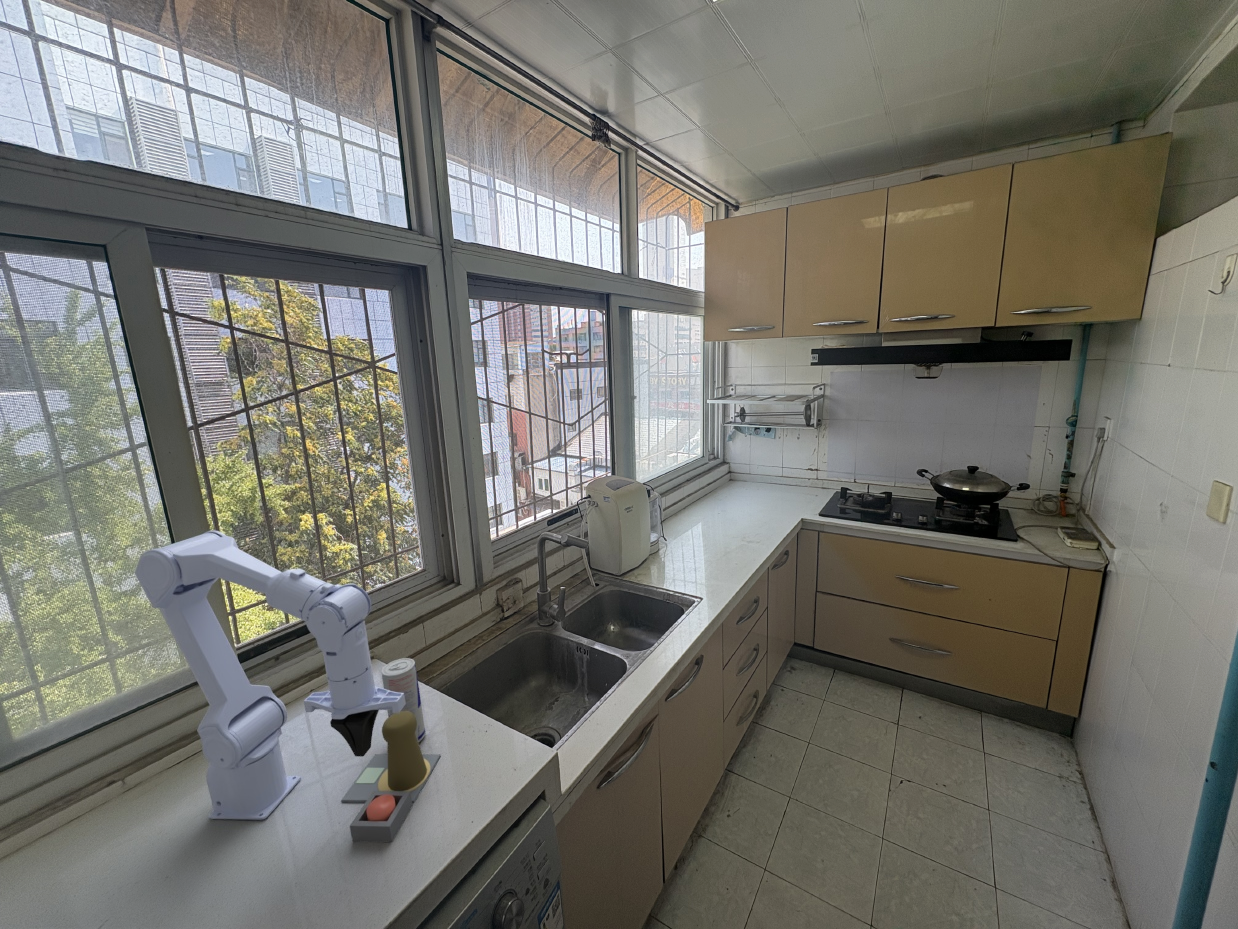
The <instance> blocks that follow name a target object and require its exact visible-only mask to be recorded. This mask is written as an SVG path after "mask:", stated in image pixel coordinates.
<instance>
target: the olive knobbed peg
mask: <svg viewBox="0 0 1238 929" xmlns="http://www.w3.org/2000/svg"><path fill="white" fill-rule="evenodd" d="M382 724H383V725H382V727H381V733H382V738H383V739H384V741H385V742H386V744H387V746H386V748H387V754H388V787H389V788H390V789H391V790H393V791H405V790H409V789H411V788H413V787H415V786H416V785H418V784H419V783H420V782H421V781H422V780H423V779H424V777H425V776H426V773H427V768H426V765H425V762H424V759H423V756H422V754H423V752H422V750H421V747H420V742H419V743H418V740H417V737H416V734H415V731H416V727H417V720H416V717H415V715H414V714H412V713H411V712H409V711H401V712H399V713H395V714H393V715H391V716H390V717H387V718H386V719H385V720H384V722H383V723H382Z"/></svg>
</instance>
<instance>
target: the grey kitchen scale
mask: <svg viewBox="0 0 1238 929" xmlns="http://www.w3.org/2000/svg"><path fill="white" fill-rule="evenodd" d="M422 756H423V759H424V762H425V765H426V768H427V773H426V776H425V777H424V779H423V780H422V781H421V782H420V783H419V784H418V785H416V786H415V787H413V788H411V789H409V790H405V791H410V792H411V798H412V804H414V803H416V801H417V798H418V797H419V796H420V794H421V792H422V790H423V789H424V787H425V784H426V783H427V781H428V779H429V778H430V776H431V775H432V772H433V770H434V768H435V767H436V766H437V764H438V762H439V759H440V758H441V754H439V753H438V754H435V753H434V754H429V753H428V754H425V753H422ZM373 791H393V790H391V789H390V788H389V787H388V753H381V754H380V753H377V754H374V755H373V756H372V758H371V759H370V760H369V762H368V763H367V764H366V765H365V767H364V768H363V769H362V771H361V773H360V774H359V775H358V777H357V778H356V779H355V781H354V782H353V783H352V785H351V786H350V787H349V789H348V790H347V791H346V793H345V794H344V796H343V797H342V798H341V801H340V802H341V803H366V801H367V800H368V798H369V797H370V795H371V794H372V792H373Z"/></svg>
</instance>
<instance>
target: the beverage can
mask: <svg viewBox="0 0 1238 929" xmlns="http://www.w3.org/2000/svg"><path fill="white" fill-rule="evenodd" d="M381 679H382V685H383V689H386V690H390V691H393V692H398V693H404V696H405V702H406V704H405V706H404V707H403V708H402V710H401V711H409V712H411V713H412V714H414V715H415V717H416V720H417V727H416V731H415V734H416V737H417V740H418V743H419V744H420V742H421V741H422V740H423V739H424V737H425V736H426V727H425V721H424V714H423V708H422V707H423V706H422V701H421V693H420V686H419V685H420V684H419V680H418V672H417V666H416V661H415V660H414V659H412V658H410V657H403V658H399V659H398V658H397V659H395V660H392V661H390V662H389V663H387V664H386V665H384V666H383V667H382V668H381ZM386 711H387V716H388V717H390V716H391V715H393V714H395V713H393V712H392V710H386ZM401 711H400V712H401ZM388 717H387V718H388Z"/></svg>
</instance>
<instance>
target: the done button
mask: <svg viewBox="0 0 1238 929" xmlns="http://www.w3.org/2000/svg"><path fill="white" fill-rule="evenodd" d="M395 808H396V805H395V799H394V797H393V796H392V795H388V794H387V795H382V796H379V797H377V798H375V799H374V800H373V801H372V802H371V803H370V804H369V805H368V807H367V810H366V812H367V818H368V821H388V819H389V818H390V816H391V814H392V813H393V811H394V809H395Z"/></svg>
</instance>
